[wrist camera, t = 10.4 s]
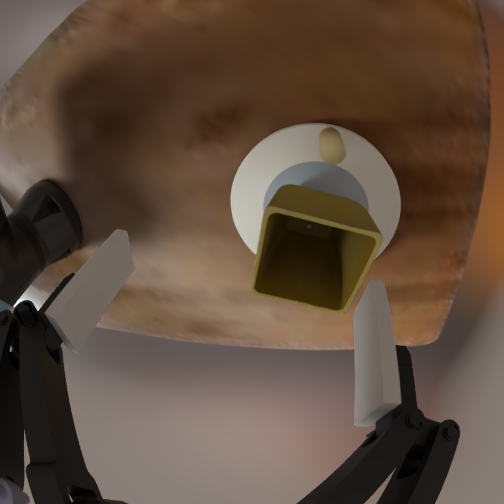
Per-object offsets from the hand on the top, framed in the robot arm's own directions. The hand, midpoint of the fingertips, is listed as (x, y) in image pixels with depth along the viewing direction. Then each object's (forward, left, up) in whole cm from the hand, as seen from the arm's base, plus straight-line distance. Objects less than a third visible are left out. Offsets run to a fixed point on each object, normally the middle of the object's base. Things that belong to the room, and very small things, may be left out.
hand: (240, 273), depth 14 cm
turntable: (+4, -4, -17) cm, 18 cm away
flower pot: (+4, -4, -15) cm, 16 cm away
